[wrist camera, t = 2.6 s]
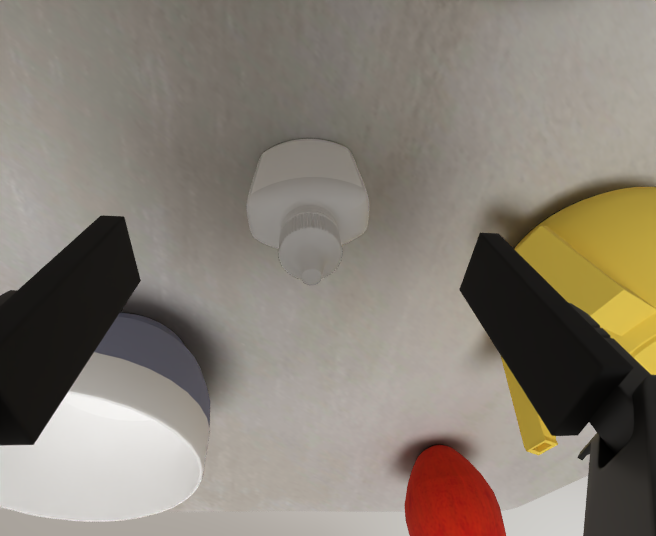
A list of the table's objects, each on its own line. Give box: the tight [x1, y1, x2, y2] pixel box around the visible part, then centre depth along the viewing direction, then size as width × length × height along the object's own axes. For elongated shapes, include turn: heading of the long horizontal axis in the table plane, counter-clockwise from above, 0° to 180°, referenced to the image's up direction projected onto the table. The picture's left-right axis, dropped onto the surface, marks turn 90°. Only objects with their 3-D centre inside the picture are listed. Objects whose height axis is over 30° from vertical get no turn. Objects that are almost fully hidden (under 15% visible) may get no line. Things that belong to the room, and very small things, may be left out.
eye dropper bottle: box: [246, 139, 369, 285], centre depth 17 cm, size 4×6×12 cm
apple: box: [405, 445, 506, 536], centre depth 37 cm, size 10×10×12 cm
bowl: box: [0, 313, 210, 522], centre depth 26 cm, size 16×16×10 cm
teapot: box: [501, 187, 656, 455], centre depth 23 cm, size 17×17×12 cm
